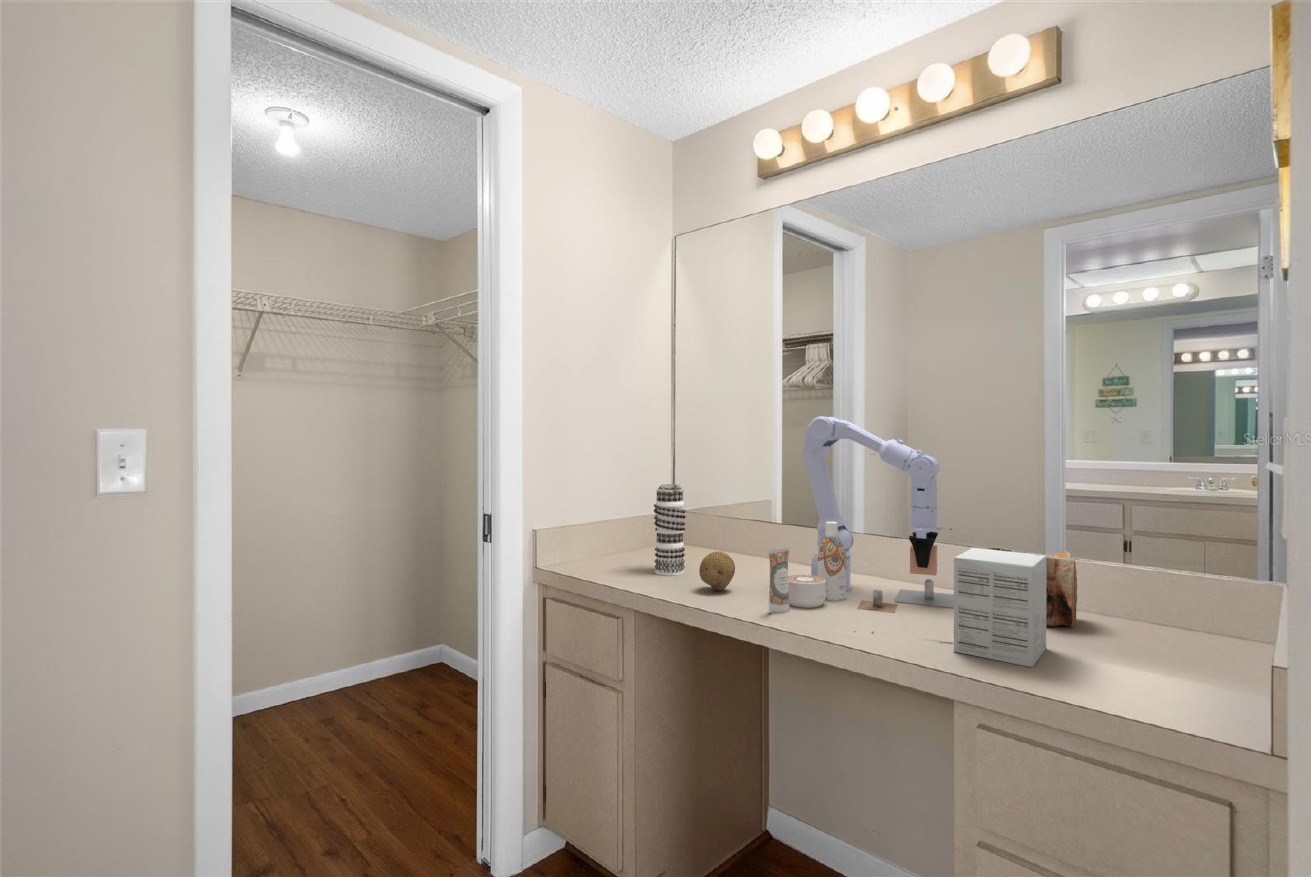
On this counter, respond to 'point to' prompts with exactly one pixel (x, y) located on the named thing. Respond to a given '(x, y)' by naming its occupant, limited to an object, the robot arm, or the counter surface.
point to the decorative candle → (669, 530)
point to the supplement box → (1000, 605)
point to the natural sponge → (717, 570)
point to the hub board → (923, 601)
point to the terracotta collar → (931, 566)
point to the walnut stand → (877, 604)
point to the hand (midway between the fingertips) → (923, 564)
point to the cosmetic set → (809, 576)
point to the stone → (1061, 590)
